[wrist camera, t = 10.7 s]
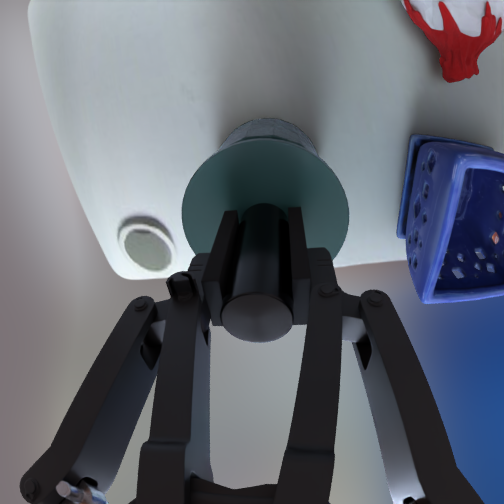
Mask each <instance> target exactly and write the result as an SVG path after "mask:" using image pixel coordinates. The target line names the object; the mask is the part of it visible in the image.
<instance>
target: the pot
mask: <svg viewBox="0 0 504 504" xmlns="http://www.w3.org/2000/svg"><path fill="white" fill-rule="evenodd" d="M257 138H270V139H278V140H284V141H287V142H291V143H294V144H297V145H299V146H302V147H304V148H306V149H308V150H309V151H311V152H313V153H314V154H316V155H317V156H318V154H317V152H316V150H315V148H314V146H313V144H312V142H311V140H310V139H309V137H307V136H306V135H305V134H304V133H303V132H302V131H301V130H300V129H299V128H297V127H296V126H295V125H293V124H291V123H288V122H286V121H283V120H279V119H274V118H262V119H256V120H252V121H249V122H247V123H245V124H243V125H241V126H240V127H238V128H236V129H235V130H234V131H233V132H232V133H231V134H230V136H229V137H228V138H227V139H226V140H225V142H224V143H223V144H222V146H221V147H220V148H219V150H221V149H223V148H225V147H227V146H229V145H231V144H234V143H237V142H241V141H244V140H250V139H257ZM219 150H218V151H219ZM218 151H217V152H218ZM318 157H319V156H318Z"/></svg>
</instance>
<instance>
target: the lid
mask: <svg viewBox="0 0 504 504" xmlns="http://www.w3.org/2000/svg"><path fill="white" fill-rule="evenodd" d="M288 207H301V211H302V217H303V223H304V230H305V237H306V244H307V248H319V247H325V248H326V249H327V250H328V251H329V252H330V254H331V258H332V261H333V259H334V258H335V257H336V255H337V254H338V252H339V251H340V249H341V247H342V245H343V243H344V241H345V238H346V234H347V231H348V225H349V208H348V202H347V198H346V195H345V192H344V189H343V187H342V185H341V183H340V181H339V179H338V178H337V176H336V175H335V173H334V172H333V171H332V169H331V168H330V167H329V166H328V165H327V164H326V163H325V162H324V161H323V160H322V159H321V158H319V157H318V156H317V155H316V154H314V153H313V152H311V151H309V150H308V149H306V148H304V147H302V146H299V145H297V144H294V143H291V142H287V141H284V140H278V139H270V138H257V139H250V140H244V141H241V142H237V143H234V144H231V145H229V146H227V147H225V148H223V149H221V150H219V151H218V152H216V153H214V154H213V155H212V156H211V157H209V158H208V159H207V160H206V161H205V162H204V163H203V164H202V165H201V166H200V167H199V168H198V170H197V171H196V172H195V174H194V175H193V177H192V178H191V180H190V182H189V184H188V186H187V188H186V191H185V194H184V198H183V203H182V223H183V229H184V232H185V235H186V238H187V241H188V243H189V245H190V247H191V248H192V250H193V252H194V253H195V255H197V254H198V253H210V252H211V249H212V246H213V243H214V240H215V237H216V234H217V231H218V228H219V226H220V223H221V220H222V217H223V214H224V211H230V210H237V212H238V220H239V230H238V234H237V239H236V243H235V248H234V252H233V256H232V261H231V265H230V270H229V274H228V279H227V283H226V288H225V293H224V297H223V302H222V306H221V311H220V319H221V322H222V325H223V326H224V328H225V329H226V330H227V331H228V332H229V333H230V334H231V335H233V336H235V337H236V338H239V339H241V340H244V341H248V342H254V343H265V342H270V341H274V340H277V339H279V338H281V337H283V336H284V335H285V334H287V333H288V332H289V330H290V329H291V327H292V325H293V322H294V306H293V298H292V275H291V255H290V237H289V220H288Z"/></svg>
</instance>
